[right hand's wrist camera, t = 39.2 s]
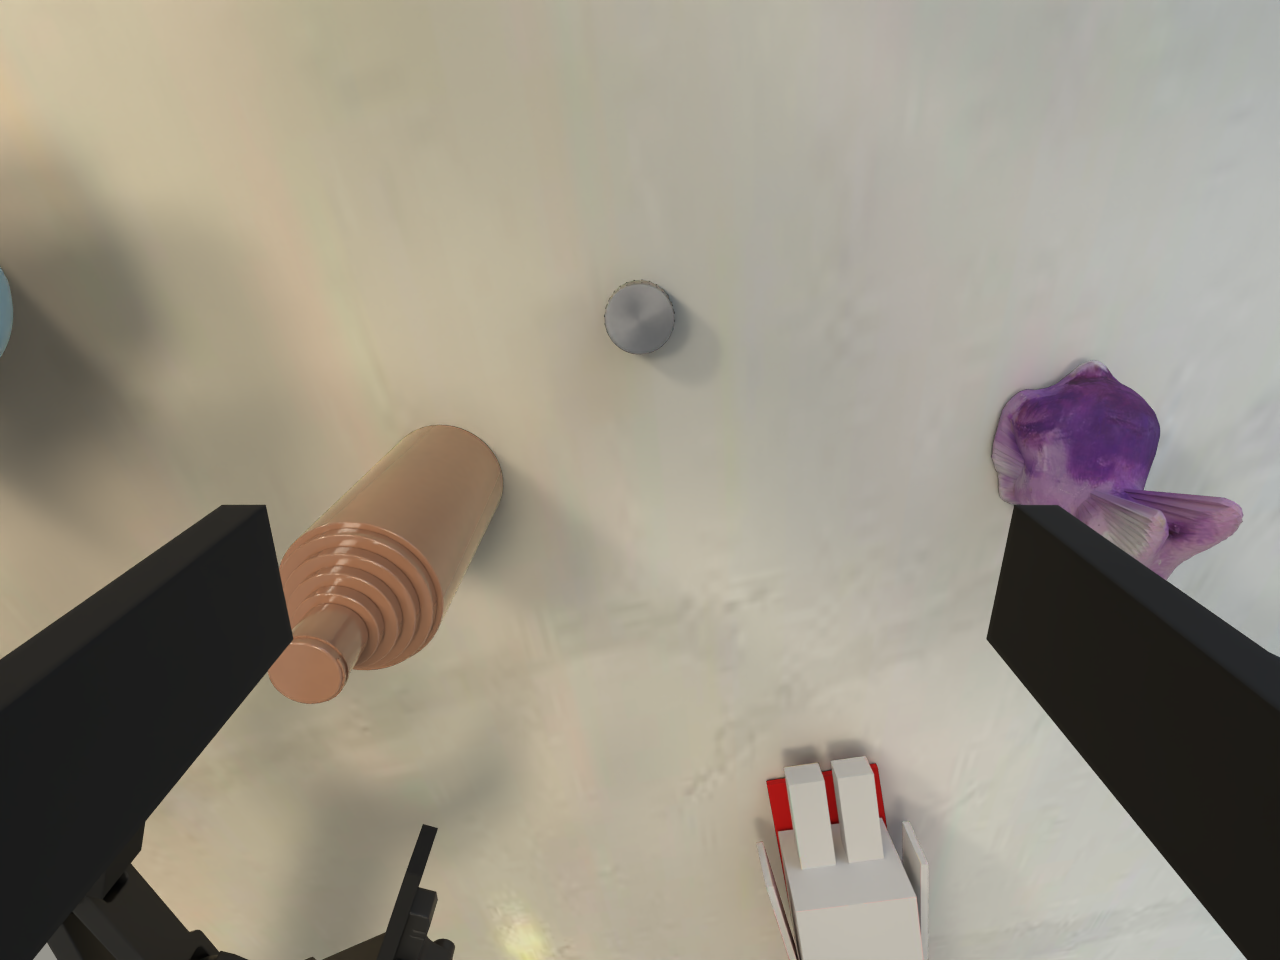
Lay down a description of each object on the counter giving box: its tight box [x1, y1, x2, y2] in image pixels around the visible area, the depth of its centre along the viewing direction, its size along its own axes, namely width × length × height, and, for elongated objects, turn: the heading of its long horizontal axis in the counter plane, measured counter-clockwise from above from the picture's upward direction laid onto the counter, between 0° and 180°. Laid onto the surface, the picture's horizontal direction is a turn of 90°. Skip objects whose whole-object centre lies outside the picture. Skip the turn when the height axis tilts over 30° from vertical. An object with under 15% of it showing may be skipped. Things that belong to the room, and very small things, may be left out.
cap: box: [604, 280, 675, 354], centre depth 44 cm, size 4×4×2 cm
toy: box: [756, 756, 928, 960], centre depth 57 cm, size 12×13×30 cm
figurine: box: [992, 360, 1243, 580], centre depth 41 cm, size 9×10×15 cm
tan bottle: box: [268, 425, 503, 704], centre depth 39 cm, size 8×8×22 cm
